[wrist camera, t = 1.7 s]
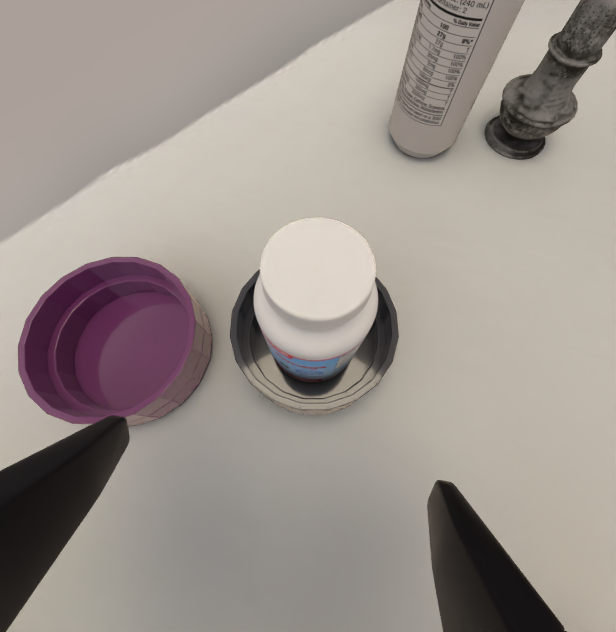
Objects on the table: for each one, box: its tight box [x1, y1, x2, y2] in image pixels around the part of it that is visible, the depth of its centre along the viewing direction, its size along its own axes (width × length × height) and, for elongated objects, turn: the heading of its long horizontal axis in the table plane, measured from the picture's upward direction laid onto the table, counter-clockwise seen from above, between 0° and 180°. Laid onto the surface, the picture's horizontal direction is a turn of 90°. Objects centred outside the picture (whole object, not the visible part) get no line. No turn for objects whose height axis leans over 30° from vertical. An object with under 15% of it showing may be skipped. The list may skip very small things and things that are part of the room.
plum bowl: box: [18, 257, 212, 426], centre depth 22 cm, size 10×10×4 cm
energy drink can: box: [389, 0, 525, 158], centre depth 23 cm, size 6×6×15 cm
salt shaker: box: [485, 0, 616, 159], centre depth 25 cm, size 6×6×12 cm
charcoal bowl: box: [230, 269, 399, 414], centre depth 22 cm, size 10×10×4 cm
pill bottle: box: [254, 217, 378, 382], centre depth 18 cm, size 6×6×11 cm
